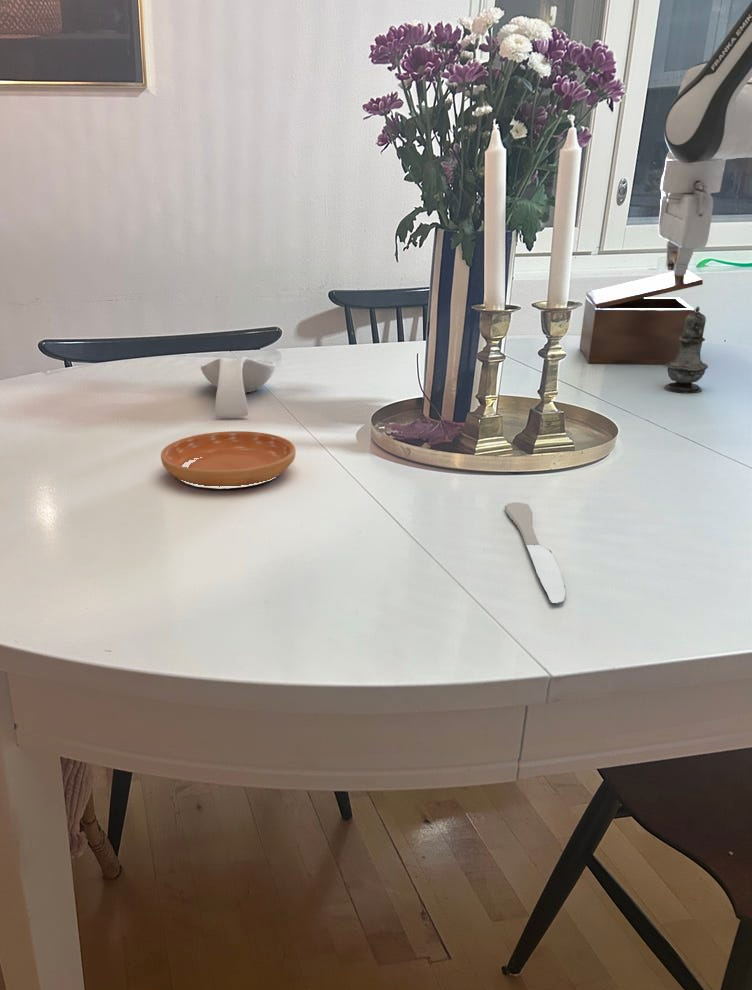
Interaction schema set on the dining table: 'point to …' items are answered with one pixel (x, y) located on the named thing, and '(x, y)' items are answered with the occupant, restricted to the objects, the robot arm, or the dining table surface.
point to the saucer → (229, 458)
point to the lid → (643, 287)
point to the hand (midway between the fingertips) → (675, 272)
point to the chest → (634, 331)
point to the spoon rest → (236, 382)
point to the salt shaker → (688, 356)
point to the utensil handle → (522, 521)
